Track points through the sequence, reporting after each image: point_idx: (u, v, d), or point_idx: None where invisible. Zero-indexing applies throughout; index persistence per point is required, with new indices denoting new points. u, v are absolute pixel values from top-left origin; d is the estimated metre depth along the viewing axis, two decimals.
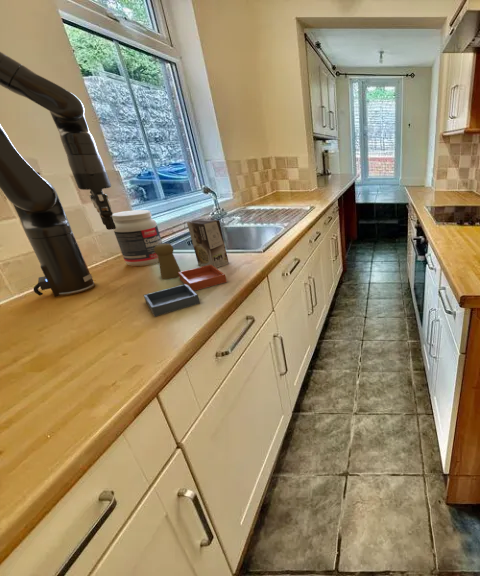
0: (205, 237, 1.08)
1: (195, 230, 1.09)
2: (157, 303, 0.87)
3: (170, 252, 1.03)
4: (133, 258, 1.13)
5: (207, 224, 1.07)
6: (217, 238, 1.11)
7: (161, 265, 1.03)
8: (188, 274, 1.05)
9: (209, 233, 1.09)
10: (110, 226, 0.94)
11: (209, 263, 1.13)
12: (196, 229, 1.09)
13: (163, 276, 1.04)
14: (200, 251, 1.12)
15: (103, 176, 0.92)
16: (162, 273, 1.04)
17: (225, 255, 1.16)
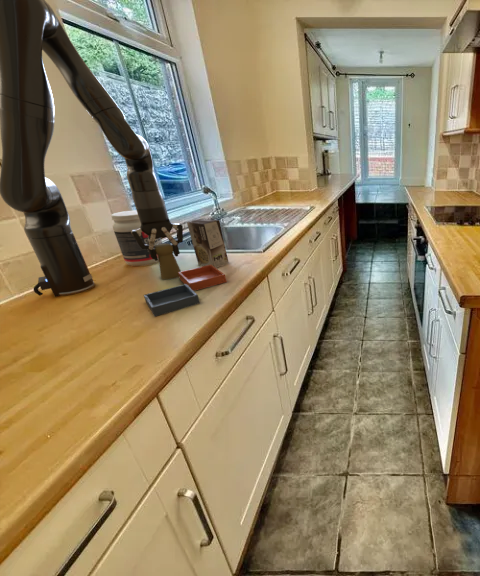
0: (205, 237, 1.08)
1: (195, 230, 1.09)
2: (157, 303, 0.87)
3: (170, 252, 1.03)
4: (133, 258, 1.13)
5: (207, 224, 1.07)
6: (217, 238, 1.11)
7: (161, 265, 1.03)
8: (188, 274, 1.05)
9: (209, 233, 1.09)
10: (151, 257, 1.01)
11: (209, 263, 1.13)
12: (196, 229, 1.09)
13: (163, 276, 1.04)
14: (200, 251, 1.12)
15: (144, 212, 0.95)
16: (162, 273, 1.04)
17: (225, 255, 1.16)
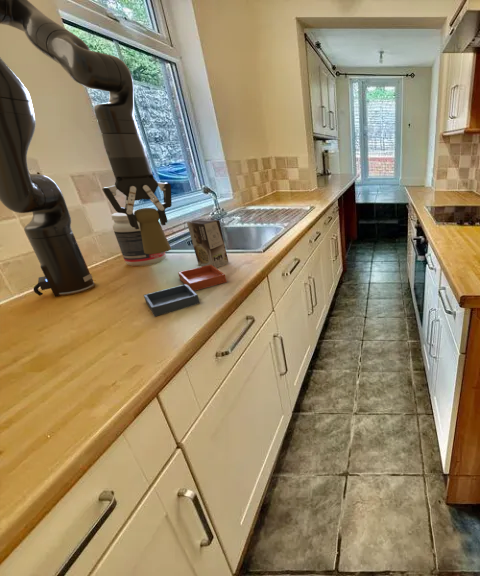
0: (205, 237, 1.08)
1: (195, 230, 1.09)
2: (157, 303, 0.87)
3: (155, 219, 0.80)
4: (133, 258, 1.13)
5: (207, 224, 1.07)
6: (217, 238, 1.11)
7: (143, 235, 0.80)
8: (188, 274, 1.05)
9: (209, 233, 1.09)
10: (131, 225, 0.79)
11: (209, 263, 1.13)
12: (196, 229, 1.09)
13: (146, 250, 0.81)
14: (200, 251, 1.12)
15: (118, 162, 0.72)
16: (145, 246, 0.81)
17: (225, 255, 1.16)
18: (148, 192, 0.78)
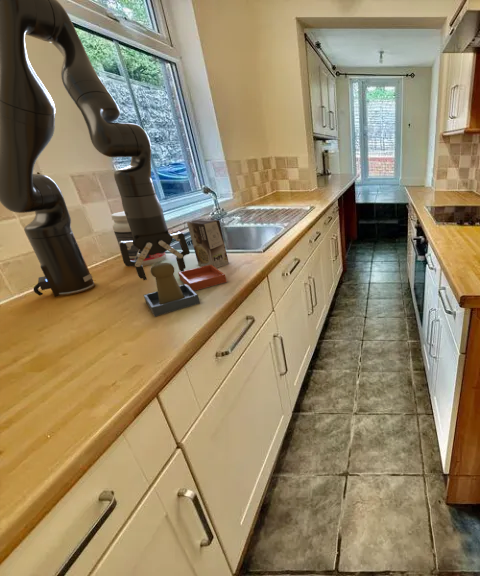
0: (205, 237, 1.08)
1: (195, 230, 1.09)
2: (157, 303, 0.87)
3: (171, 273, 0.84)
4: (133, 258, 1.13)
5: (207, 224, 1.07)
6: (217, 238, 1.11)
7: (159, 289, 0.84)
8: (188, 274, 1.05)
9: (209, 233, 1.09)
10: (139, 276, 0.81)
11: (209, 263, 1.13)
12: (196, 229, 1.09)
13: (162, 302, 0.85)
14: (200, 251, 1.12)
15: (136, 222, 0.75)
16: (161, 299, 0.85)
17: (225, 255, 1.16)
18: (164, 246, 0.81)
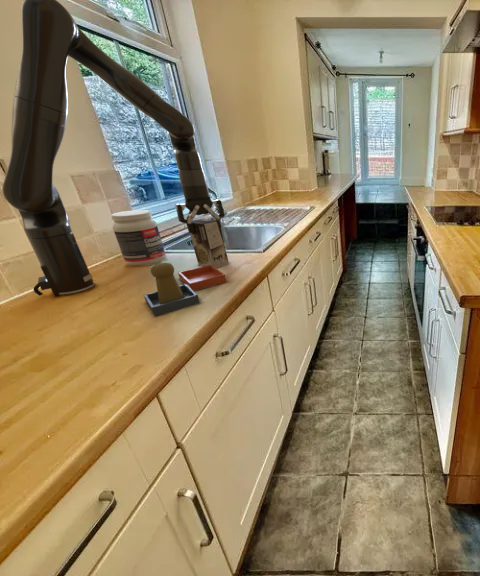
0: (205, 237, 1.08)
1: (195, 230, 1.09)
2: (157, 303, 0.87)
3: (170, 273, 0.84)
4: (133, 258, 1.13)
5: (207, 224, 1.07)
6: (217, 238, 1.12)
7: (159, 289, 0.84)
8: (188, 274, 1.05)
9: (209, 233, 1.09)
10: (189, 231, 1.08)
11: (209, 263, 1.13)
12: (196, 229, 1.09)
13: (162, 302, 0.85)
14: (200, 251, 1.12)
15: (189, 189, 1.03)
16: (161, 299, 0.85)
17: (225, 255, 1.16)
18: (207, 209, 1.09)
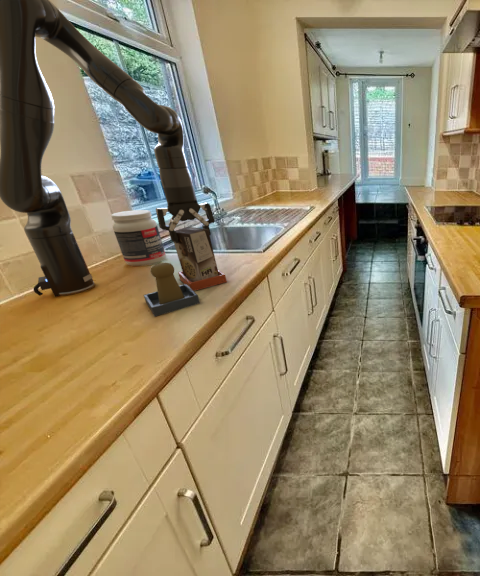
0: (192, 249, 0.94)
1: (180, 240, 0.95)
2: (157, 303, 0.87)
3: (170, 273, 0.84)
4: (133, 258, 1.13)
5: (193, 234, 0.93)
6: (205, 250, 0.97)
7: (159, 289, 0.84)
8: None
9: (196, 245, 0.94)
10: (172, 239, 0.94)
11: (197, 278, 0.98)
12: (181, 240, 0.94)
13: (162, 302, 0.85)
14: (186, 265, 0.98)
15: (171, 191, 0.88)
16: (161, 299, 0.85)
17: (215, 269, 1.01)
18: (194, 213, 0.94)
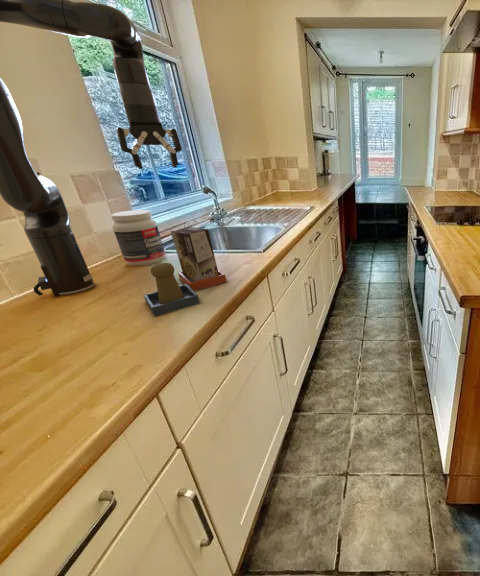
0: (192, 249, 0.94)
1: (180, 240, 0.95)
2: (157, 303, 0.87)
3: (170, 273, 0.84)
4: (133, 258, 1.13)
5: (193, 234, 0.93)
6: (205, 250, 0.97)
7: (159, 289, 0.84)
8: None
9: (196, 245, 0.94)
10: (135, 165, 0.89)
11: (197, 278, 0.98)
12: (181, 240, 0.94)
13: (162, 302, 0.85)
14: (186, 265, 0.98)
15: (132, 108, 0.83)
16: (161, 299, 0.85)
17: (215, 269, 1.01)
18: (158, 138, 0.89)
